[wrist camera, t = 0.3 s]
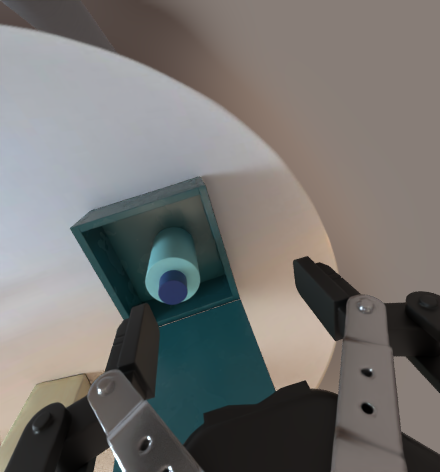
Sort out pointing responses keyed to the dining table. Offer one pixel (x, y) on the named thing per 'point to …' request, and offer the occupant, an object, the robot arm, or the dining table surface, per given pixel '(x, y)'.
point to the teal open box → (140, 246)
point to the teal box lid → (207, 368)
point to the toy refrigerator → (40, 397)
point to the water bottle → (173, 267)
